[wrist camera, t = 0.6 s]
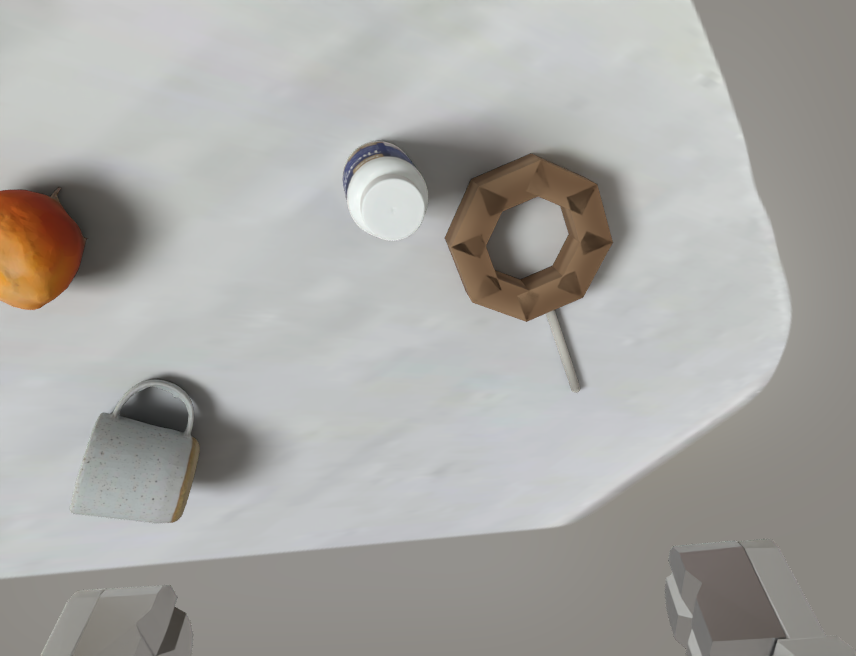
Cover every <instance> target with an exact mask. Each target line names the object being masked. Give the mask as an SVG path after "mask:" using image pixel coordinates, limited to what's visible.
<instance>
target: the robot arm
mask: <svg viewBox="0 0 856 656" xmlns="http://www.w3.org/2000/svg"><path fill="white" fill-rule="evenodd" d="M668 561H669V564H670V567H671V570H672V574H671V575H670V576H669V577H667V578H666V584H665V599H666V609H667V614H668V618H669V622H670V626H671V628H672V631H673V635H674V638H675V640H676V641H678V642H679V643H680V644H681V645H682V646H683V647H684V648H685V649H687V650H686V656H856V650H855V649H854V648H852V647H851V646H850V645H848V644H847V643H846V642H844V641H843V640H842V639H840V638H839V637H838V636H826V634H825V633H824V631H823V629H822V627H821V625H820V623H819V622H818V619H817V618H816V616H815V614H814V612H813V610H812V608H811V606H810V604H809V603H808V601H807V599H806V597H805V595H804V593H803V592H802V590H801V588H800V586H799V584H798V582H797V580H796V578H795V576H794V575H793V573H792V571H791V569H790V567H789V565H788V563H787V562H786V560H785V558H784V556H783V554H782V552H781V550H780V549H779V547H778V545H777V544H776V543H775V542H774V541H773V540H771V539H761V540H760V539H759V540H749V541H739V542H736V541H725V542H715V543H703V544H692V545H682V546H673V547H672V549H671V550H670V553H669V560H668ZM177 598H178V597H177V595H176V593H175V592H174V590H173V588H172V587H171V585H162V586H145V587H127V588H106V589H92V590H78V591H77V592H76V593H75V594H74V595H73V596H72V597H71V598H70V599H69V600H68V601H67V603H66V605H65V608H64V609H63V611H62V613H61V615H60V617H59V620H58V622H57V623H56V626H55V628H54V629H53V632H52V634H51V636H50V637H49V640H48V641H47V643H46V646H45V647H44V650H43V651H42V654H41V656H191V655H192V646H193V631H192V626H191V622H190V620H189V618H188V616H187V614H186V613H185V612H183V611H182V610H180V609H178V608H176V607H175V604H176V601H177Z"/></svg>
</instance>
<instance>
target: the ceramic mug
mask: <svg viewBox="0 0 856 656" xmlns="http://www.w3.org/2000/svg"><path fill="white" fill-rule="evenodd" d="M151 386H152V387H156V388H159V389H162V390H165V391H168V392H169V393H171V394H172V395H173V396H174V398H179V399H181V401H182V402H183V403H185V404H186V407H187V411H188V415H189V417H188V424H187V427H186V430H185V431H184V432H180V431H176V430H172V429H167V428H162V427H158V426H154V425H151V424H147V423H143V422H140V421H136V420H133V419H130V418H125V417H122V416H120V415H119V412H120V410H121V408H122V406H123V405H124V404H125V403H126V401H127V400H128V399H129V398H130V397H131V396H132V395H133V394H135V393H137V392H139V391H141V390H144V389H145V388H147V387H151ZM193 422H194V409H193V404H192V401H191V399H190V397H189V396H188V395H187V393H186V392H185V391H184V390H183V389H181V388H180V387H179V386H177V385H176V384H173V383H171V382H168V381H164V380H147V381H143V382H141V383H139V384H137V385H135V386H134V387H132V388H131V389H129V390H128V391H127V392H126V393H125V394H124V396H123V397H122V398H121V400H120V401H119V403H118V404H117V406H116V407H115V410H114V412H113V413H112V414H109V413H101V414H100V416H99V417H98V419H97V421H96V423H95V426H94V428H93V431H92V433H91V437H90V439H89V442H88V445H87V448H86V451H85V454H84V457H83V461H82V464H81V467H80V470H79V474H78V477H77V480H76V484H75V489H74V492H73V496H72V501H71V505H70V511H71V513H73V514H80V515H90V516H98V517H106V518H114V519H123V520H133V521H139V522H148V523H173V522H175V521H177V520H178V519H179V518H180V517H181V516H182V514H183V511H184V508H185V506H186V503H187V500H188V496H189V493H190V489H191V486H192V482H193V478H194V475H195V471H196V466H197V462H198V457H199V452H200V446H199V443H198V441H197V440H196V439H195V438H194V437H192V436H191V431H192V427H193Z"/></svg>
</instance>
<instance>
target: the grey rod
mask: <svg viewBox="0 0 856 656" xmlns="http://www.w3.org/2000/svg"><path fill="white" fill-rule="evenodd" d="M546 315H547V318H548V321H549V324H550V327H551V330H552V333H553V336H554V339H555V342H556V345H557V348H558V351H559V354H560V357H561V360H562V363H563V366H564V369H565V372H566V375H567V378H568V381H569V384H570V387H571V390H572V391H573V392H575V393H577V392H579V391H580V385H579V382H578V379H577V376H576V373H575V370H574V367H573V364H572V361H571V358H570V355H569V352H568V349H567V346H566V343H565V340H564V336H563V333H562V330H561V327H560V324H559V321H558V318H557V315H556V312H555V310H553V311H550V312H548V313H546Z"/></svg>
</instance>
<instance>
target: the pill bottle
mask: <svg viewBox="0 0 856 656" xmlns="http://www.w3.org/2000/svg"><path fill="white" fill-rule="evenodd" d="M343 187H344V191H345V196H346V199H347V205H348V209H349V212H350V214H351V216H352V218H353V220H354V221H355V222H356V224H357V225H358V226H359V227H360V228H361V229H362V230H364V231H365V232H366V233H368V234H370V235H372V236H375V237H378V238H381V239H384V240H389V241H397V240H402V239H404V238H407V237H409V236H410V235H412V234H413V233H414V232H415V231H416V230H417V229H418V228H419V227H420V225H421V223H422V221H423V218H424V215H425V212H426V210H427V206H428V190H427V186H426V183H425V181H424V178H423V177H422V175H421V174H420V172H419V171H418V169H417V168H416V167H415V165H414V164H413V163H412V161H411V160H410V158H409V157H408V156H407V155H406V154H405V153H404V152H403V151H402V150H401V149H400V148H399V147H397V146H395V145H393V144H391V143H388V142H383V141H373V142H369V143H366V144H363V145H361V146H360V147H358V148H357V149H355V150H354V151H353V152H352V154H351V155H350V156H349V157H348V159H347V161H346V163H345V166H344V170H343Z"/></svg>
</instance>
